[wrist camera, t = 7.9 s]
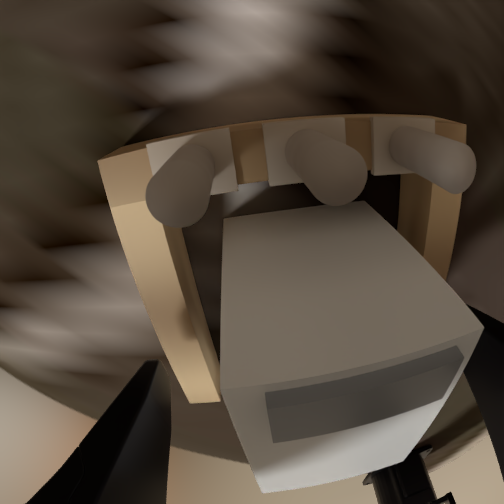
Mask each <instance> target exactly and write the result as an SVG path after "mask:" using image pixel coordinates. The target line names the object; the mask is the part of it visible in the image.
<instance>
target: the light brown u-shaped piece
mask: <svg viewBox="0 0 504 504" xmlns="http://www.w3.org/2000/svg"><path fill="white" fill-rule="evenodd" d="M98 165H99V169H100V173H101V176H102V180H103V184H104V188H105V191H106V195H107V198H108V202H109V205H110V209H111V212H112V215H113V218H114V222H115V225H116V228H117V231H118V234H119V237H120V240H121V243H122V246H123V249H124V252H125V255H126V258H127V261H128V263H129V266H130V269H131V272H132V274H133V277H134V280H135V282H136V285H137V288H138V290H139V293H140V295H141V298H142V300H143V303H144V305H145V308H146V310H147V313H148V315H149V317H150V320H151V322H152V324H153V327H154V329H155V331H156V334H157V336H158V338H159V340H160V343H161V345H162V347H163V349H164V352H165V354H166V356H167V358H168V360H169V362H170V364H171V366H172V368H173V371H174V373H175V375H176V377H177V379H178V381H179V383H180V385H181V387H182V389H183V391H184V393H185V395H186V396H187V398H188V400H189V402H190V403H205V402H218V401H220V364H219V361H218V358H217V354H216V351H215V348H214V345H213V342H212V338H211V335H210V332H209V328H208V325H207V322H206V318H205V315H204V311H203V308H202V304H201V301H200V297H199V294H198V290H197V286H196V283H195V279H194V275H193V272H192V268H191V264H190V260H189V256H188V253H187V249H186V245H185V241H184V237H183V233H182V229H181V228H183V227H188V226H190V225H193V224H195V223H196V222H197V221H199V220H200V219H201V218H202V217H203V216H204V214H205V212H206V210H207V208H208V205H209V199H210V195H215V194H221V193H227V192H234V191H238V185H239V184H246V183H253V182H260V181H269V185H270V186H278V185H286V184H294V183H303V182H304V184H305V185H306V186H307V187H308V189H309V190H310V191H311V193H312V194H313V195H314V196H315V197H316V198H317V199H318V200H319V201H320V202H322V203H324V204H327V205H331V206H340V205H345V204H347V203H350V202H351V201H353V200H354V199H356V198H357V197H358V196H359V195H360V193H361V192H362V190H363V189H364V187H365V184H366V181H367V170H371V174H373V175H374V176H377V175H391V174H401V181H400V200H399V215H398V227H397V232H398V233H399V234H400V235H402V236H403V237H404V238H405V239H406V240H407V241H408V242H409V243H410V244H411V245H412V246H413V247H414V248H415V249H416V250H417V252H418V253H419V254H420V255H421V256H422V257H423V258H424V259H425V260H426V261H427V262H428V263H429V264H430V265H431V266H432V267H433V268H434V269H435V270H436V271H437V273H438V274H439V275H440V276H441V277H442V278H443V279H444V280H445V281H446V277H447V273H448V269H449V265H450V260H451V256H452V251H453V246H454V241H455V236H456V230H457V224H458V218H459V211H460V204H461V197H462V192H464V191H465V190H466V189H468V187H469V186H470V185H471V183H472V182H473V179H474V177H475V173H476V158H475V155H474V153H473V151H472V149H471V148H470V147H469V146H468V145H466V124H462V123H458V122H455V121H451V120H447V119H443V118H438V117H434V116H426V115H405V114H342V115H320V116H305V117H292V118H281V119H271V120H262V121H254V122H246V123H239V124H232V125H225V126H219V127H212V128H206V129H201V130H195V131H190V132H185V133H180V134H175V135H170V136H165V137H161V138H156V139H152V140H147V141H143V142H139V143H135V144H131V145H127V146H123V147H121V148H119V149H117V150H115V151H114V152H112V153H110V154H108V155H107V156H105V157H103V158H101V159H100V160H98Z"/></svg>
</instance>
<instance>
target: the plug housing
mask: <svg viewBox="0 0 504 504" xmlns="http://www.w3.org/2000/svg"><path fill="white" fill-rule="evenodd" d="M483 329H484V326H483V325H482V324H481V322H480V321H479V320H478V319H477V317H476V316H475V315H474V314H473V313H472V311H471V310H470V309H469V308H468V307H467V305H466V304H465V303H464V302H463V301H462V299H461V298H460V297H459V296H458V295H457V294H456V293H455V291H454V290H453V289H452V288H451V287H450V286H449V285H448V284H447V282H446V281H445V280H444V279H443V278H442V277H441V276H440V275H439V274H438V273H437V271H436V270H435V269H434V268H433V267H432V266H431V265H430V264H429V263H428V262H427V261H426V260H425V259H424V258H423V257H422V256H421V255H420V254H419V253H418V252H417V250H416V249H415V248H414V247H413V246H412V245H411V244H410V243H409V242H408V241H407V240H406V239H405V238H404V237H403V236H402V235H400V234H399V233H398V232H397V231H396V230H395V229H394V228H393V227H392V226H391V225H390V224H389V223H388V222H387V221H386V220H385V219H384V218H383V217H382V216H381V215H380V214H378V213H377V212H376V211H375V210H374V209H373V208H372V207H371V206H370V205H369V204H367V203H366V202H365V201H356V202H350V203H347V204H345V205H340V206H331V205H321V206H313V207H305V208H297V209H289V210H281V211H274V212H266V213H259V214H252V215H245V216H238V217H231V218H224V221H223V248H222V281H221V329H220V391H221V393H222V396H223V399H224V402H225V404H226V407H227V410H228V412H229V415H230V417H231V420H232V423H233V425H234V428H235V430H236V433H237V435H238V438H239V440H240V443H241V445H242V448H243V450H244V452H245V455H246V457H247V460H248V462H249V464H250V467H251V469H252V471H253V473H254V476H255V478H256V480H257V483H258V485H259V487H260V489H261V492H262V493H269V492H277V491H285V490H292V489H298V488H304V487H310V486H315V485H320V484H325V483H330V482H334V481H339V480H343V479H347V478H351V477H354V476H358V475H362V474H365V473H369V472H372V471H375V470H379V469H382V468H385V467H388V466H391V465H394V464H397V463H400V462H402V461H404V459H405V458H406V457H407V456H408V454H409V453H410V452H411V451H412V449H413V448H414V447H415V445H416V444H417V443H418V441H419V440H420V439H421V437H422V436H423V434H424V433H425V432H426V430H427V429H428V427H429V426H430V425H431V423H432V422H433V420H434V419H435V417H436V416H437V414H438V413H439V411H440V409H441V408H442V406H443V405H444V403H445V401H446V400H447V398H448V397H449V395H450V393H451V392H452V390H453V388H454V386H455V385H456V383H457V381H458V379H459V378H460V376H461V374H462V372H463V370H464V368H465V367H466V365H467V363H468V361H469V359H470V357H471V355H472V353H473V351H474V349H475V347H476V345H477V342H478V340H479V338H480V336H481V334H482V331H483Z"/></svg>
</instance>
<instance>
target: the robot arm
mask: <svg viewBox="0 0 504 504" xmlns="http://www.w3.org/2000/svg"><path fill="white" fill-rule="evenodd" d="M466 305H467V304H466ZM467 307H468V308H469V309H470V310H471V311H472V313H473V314H474V315H475V316H476V317H477V319H478V320H479V321H480V322H481V324H482V325H483V326H484V329H483V331H482V334H481V336H480V338H479V340H478V342H477V345H476V347H475V349H474V351H473V353H472V355H471V357H470V359H469V361H468V363H467V365H466V367H465V368H464V370H463V372H464V374H465V376H466V379H467V381H468V383H469V385H470V388H471V390H472V392H473V395H474V397H475V399H476V402H477V404H478V407H479V409H480V412H481V414H482V417H483V419H484V422H485V424H486V427H487V430H488V433H489V435H490V438H491V441H492V444H493V447H494V450H495V453H496V456H497V459H498V463H499V466H500V469H501V473H502V477H503V480H504V323H502V322H500V321H498V320H496V319H494V318H492V317H491V316H489V315H487V314H485V313H483V312H481V311H479V310H477V309H475V308H473V307H471V306H469V305H467ZM170 440H171V383H170V378H169V375H168V373H167V371H166V369H165V367H164V365H163V363H162V362H161V361H160V360H158V359H155V360H147V361H145V362H144V363H143V365H142V366H141V367H140V368H139V370H138V371H137V372H136V373H135V375H134V376H133V377H132V378H131V380H130V381H129V382H128V383H127V385H126V386H125V387H124V388H123V390H122V391H121V392H120V393H119V395H118V396H117V397H116V398H115V400H114V401H113V402H112V403H111V405H110V406H109V407H108V409H107V410H106V411H105V412H104V414H103V415H102V416H101V417H100V419H99V420H98V421H97V422H96V424H95V425H94V426H93V428H92V429H91V430H90V431H89V433H88V434H87V435H86V437H85V438H84V439H83V440H82V442H81V443H80V444H79V447H77V448H76V449H75V450H74V452H73V453H72V454H71V456H70V457H69V458H68V459H67V460H66V462H65V463H64V464H63V465H62V467H61V468H60V469H59V470H58V471H57V472H56V473H55V474H54V476H52V477H51V479H50V480H49V481H48V482H47V483H46V484H45V485H44V486H43V487H42V488H41V489H40V490H39V491H38V492H37V493H36V494H35V495H34V496H33V497H32V498H31V499H30V500H29V501H28V502H27V503H25V504H166V495H167V478H168V464H169V451H170ZM432 449H433V448H432V445H430V446H427V447H425V448H422V449H420V450H417V451H415V452H412V453H409V454H408V456H407V457H406V458H405V459H404V461H402V462H400V463H397V464H394V465H391V466H388V467H385V468H382V469H379V470H375V471H372V472H369V473H368V475H367V476H366V478H365V479H364V481H363V485H368V484H372V483H373V486H374V490H375V494H376V497H377V501H378V504H444V503H445V504H456V502H455V500H454V498H453V495H452V493H451V492H449V493H447V494H446V495H445V496H443V497H441V498H439V499H437V497H436V494H435V491H434V488H433V485H432V482H431V480H430V477H429V475H428V471H427V469H426V466H425V463H424V461H423V459H424V458H425V457H426V456H427V455H428V454H429V453H430V451H431V450H432Z"/></svg>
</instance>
